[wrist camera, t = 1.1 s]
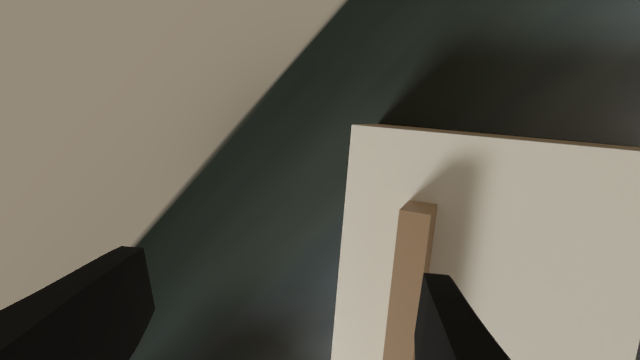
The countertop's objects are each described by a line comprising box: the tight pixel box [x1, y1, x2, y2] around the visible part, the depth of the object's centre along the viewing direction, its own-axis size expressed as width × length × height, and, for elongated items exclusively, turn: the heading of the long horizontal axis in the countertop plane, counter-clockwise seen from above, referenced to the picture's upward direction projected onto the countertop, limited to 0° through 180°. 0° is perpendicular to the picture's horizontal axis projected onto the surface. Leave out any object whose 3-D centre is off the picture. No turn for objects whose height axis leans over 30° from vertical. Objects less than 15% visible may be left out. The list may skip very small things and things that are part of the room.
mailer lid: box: [331, 125, 640, 360], centre depth 18 cm, size 16×12×3 cm
